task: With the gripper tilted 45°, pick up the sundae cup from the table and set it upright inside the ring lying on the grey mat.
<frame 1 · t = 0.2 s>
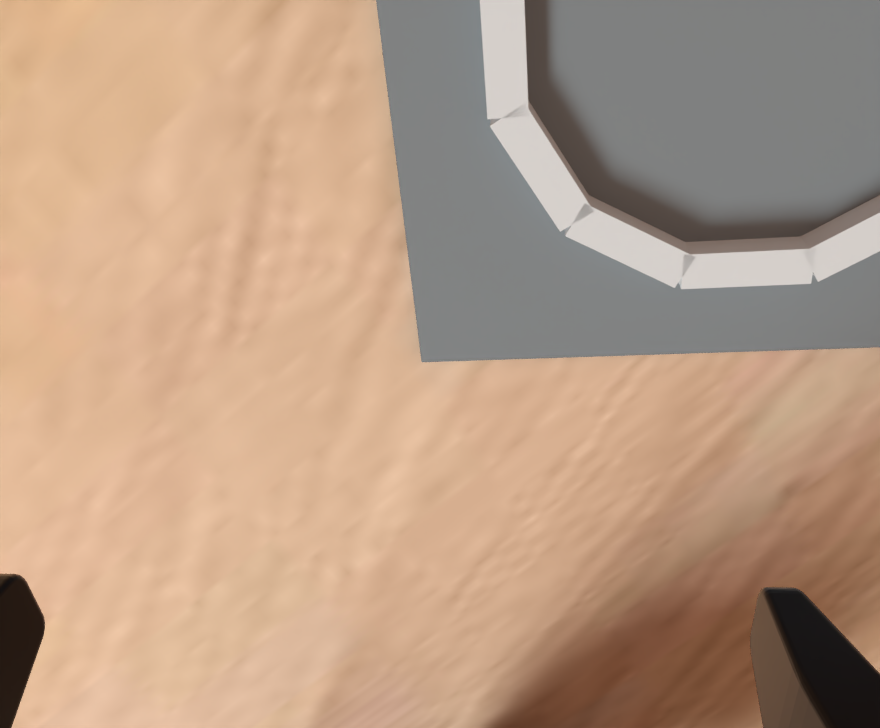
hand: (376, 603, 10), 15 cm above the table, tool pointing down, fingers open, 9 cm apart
ring mat: (761, 15, 19), on the table
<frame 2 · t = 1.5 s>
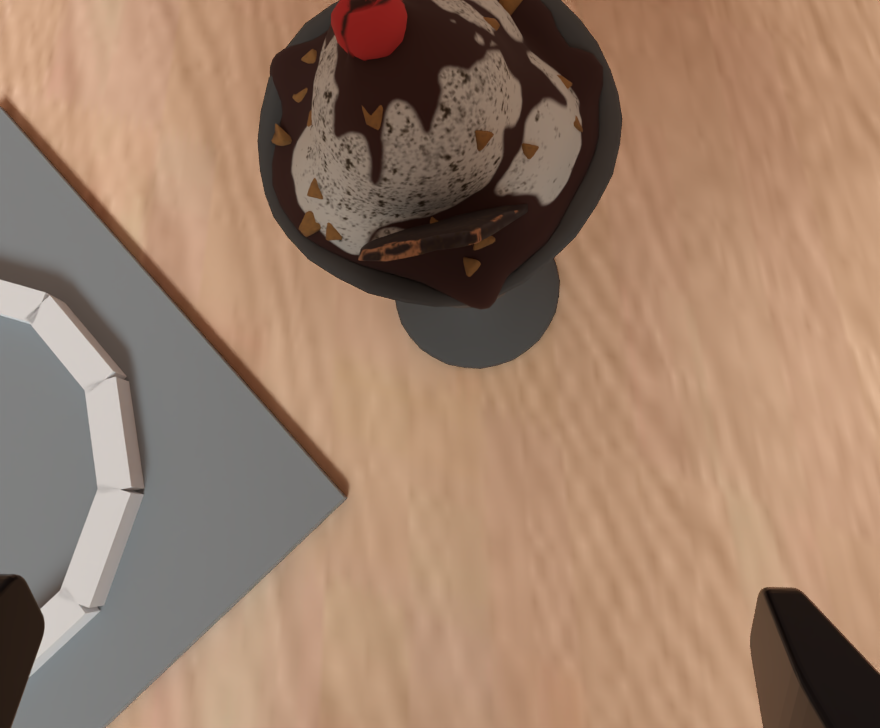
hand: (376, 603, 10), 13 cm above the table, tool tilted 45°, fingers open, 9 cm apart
sundae: (475, 289, 25), on the table
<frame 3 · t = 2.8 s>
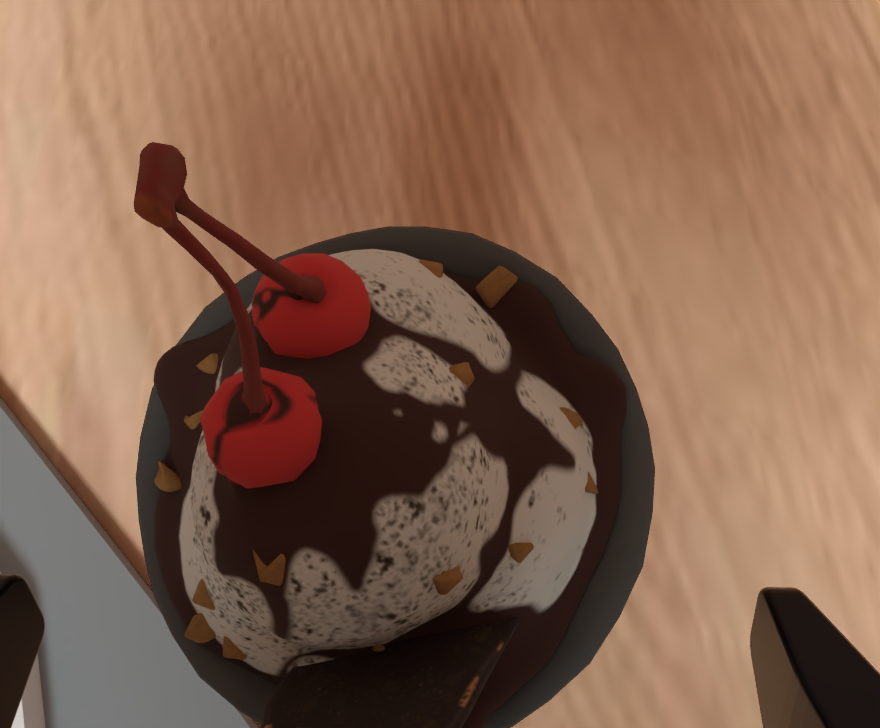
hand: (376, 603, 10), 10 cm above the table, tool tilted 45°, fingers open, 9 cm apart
sundae: (458, 507, 20), on the table
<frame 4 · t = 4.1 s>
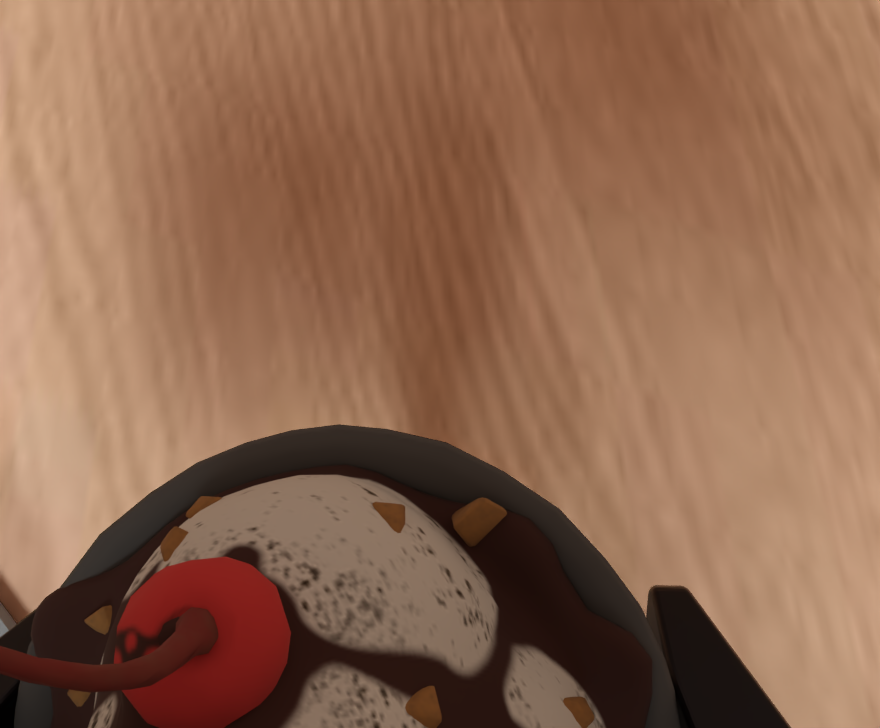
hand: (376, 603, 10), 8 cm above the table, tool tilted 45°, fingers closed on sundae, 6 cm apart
sundae: (447, 642, 18), on the table, touching gripper
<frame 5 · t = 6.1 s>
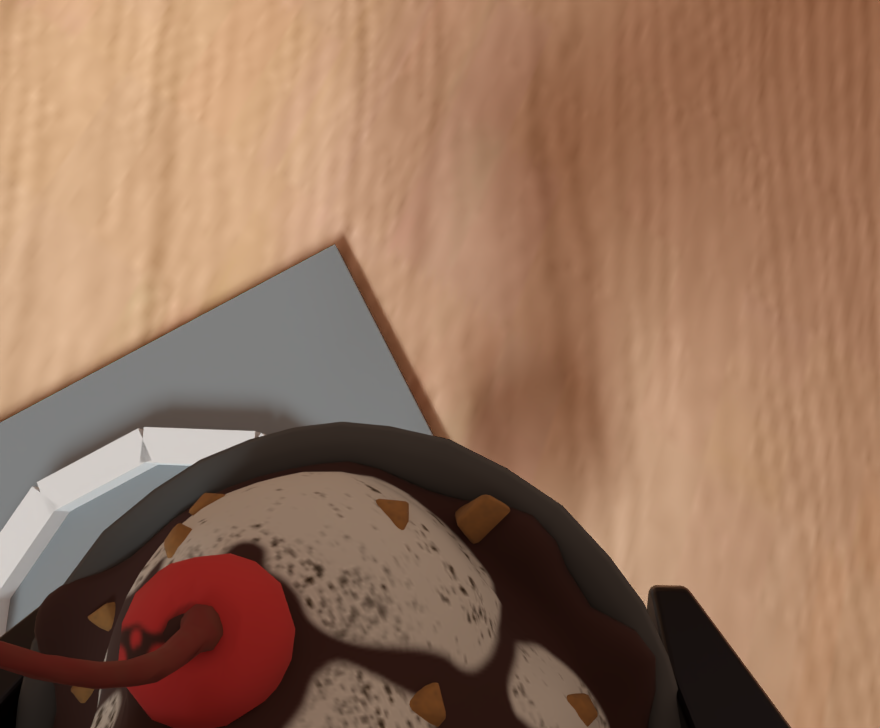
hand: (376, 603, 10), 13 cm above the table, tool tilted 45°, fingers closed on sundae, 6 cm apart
ring mat: (192, 663, 23), on the table
sundae: (449, 638, 18), point 5 cm above the table, touching gripper
when the fingers open (9 cm above the table, at t = 8.2 s): sundae stays where it is, resting on ring mat.
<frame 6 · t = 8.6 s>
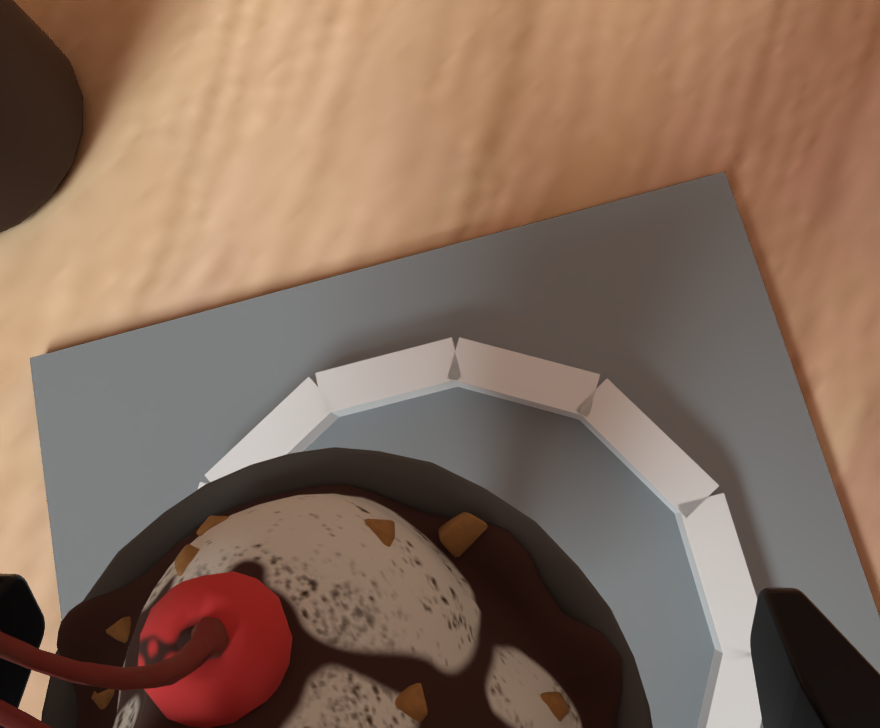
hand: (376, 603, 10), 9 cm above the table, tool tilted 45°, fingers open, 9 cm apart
ring mat: (453, 635, 19), on the table
sundae: (446, 645, 18), resting on ring mat
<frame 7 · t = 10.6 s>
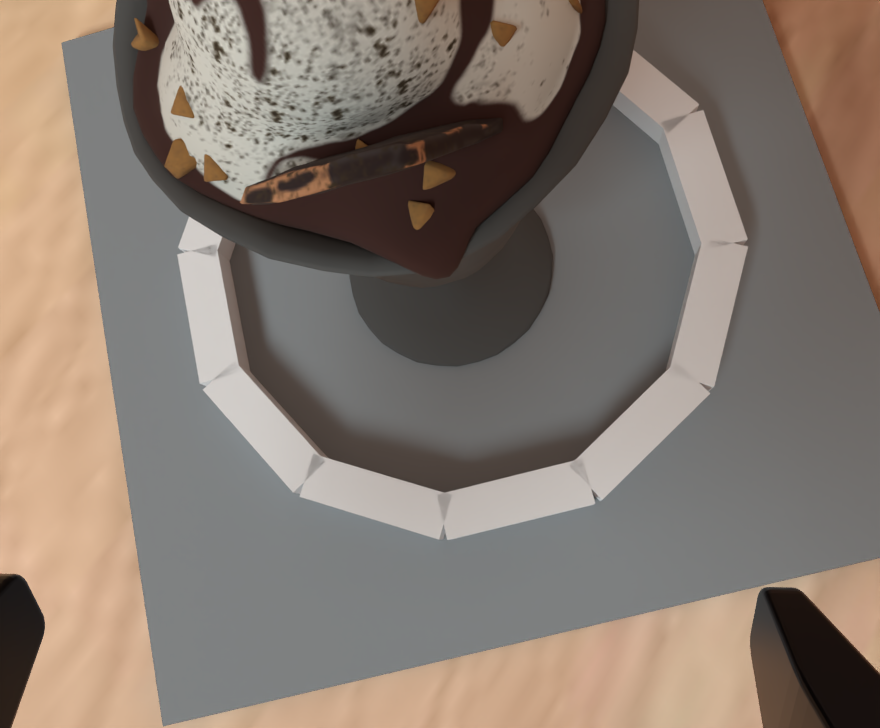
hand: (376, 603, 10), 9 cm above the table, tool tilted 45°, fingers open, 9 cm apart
ring mat: (455, 263, 20), on the table
sundae: (449, 269, 20), resting on ring mat
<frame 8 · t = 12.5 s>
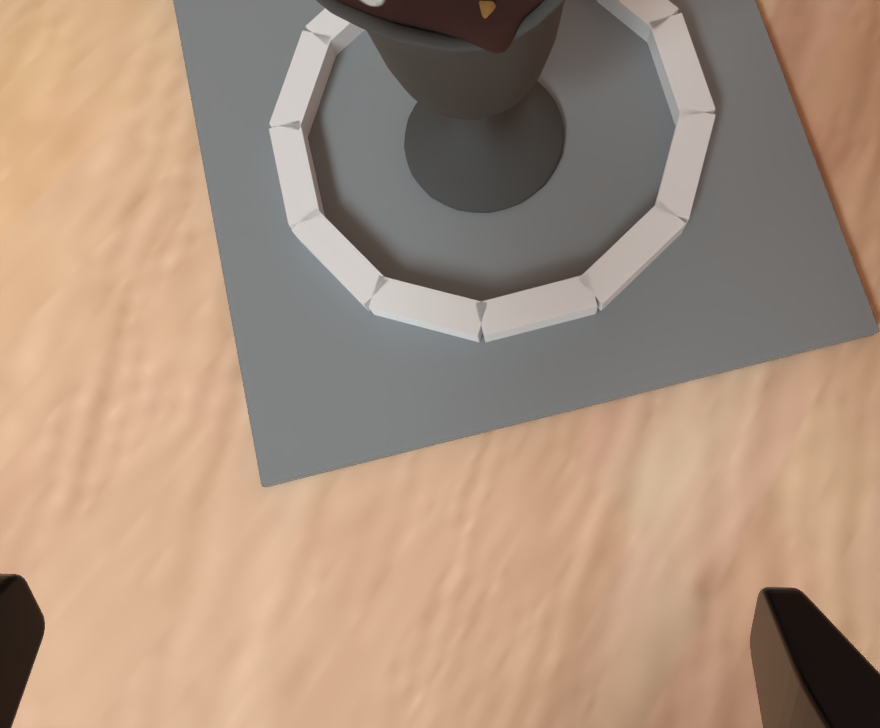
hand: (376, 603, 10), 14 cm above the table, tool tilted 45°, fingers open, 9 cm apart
ring mat: (487, 138, 26), on the table
sundae: (482, 141, 26), resting on ring mat
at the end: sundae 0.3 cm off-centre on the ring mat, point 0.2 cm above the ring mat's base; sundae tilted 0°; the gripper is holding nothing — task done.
